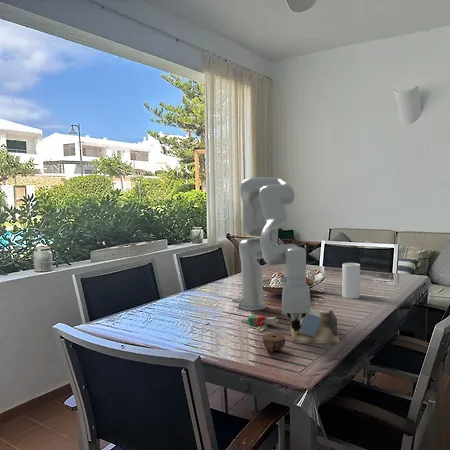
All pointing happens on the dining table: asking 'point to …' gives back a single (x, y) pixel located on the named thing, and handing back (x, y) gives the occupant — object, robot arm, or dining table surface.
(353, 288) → the cup
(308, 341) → the tan shallow square box
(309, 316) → the book
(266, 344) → the artifact
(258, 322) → the toy
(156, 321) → the dining table surface
